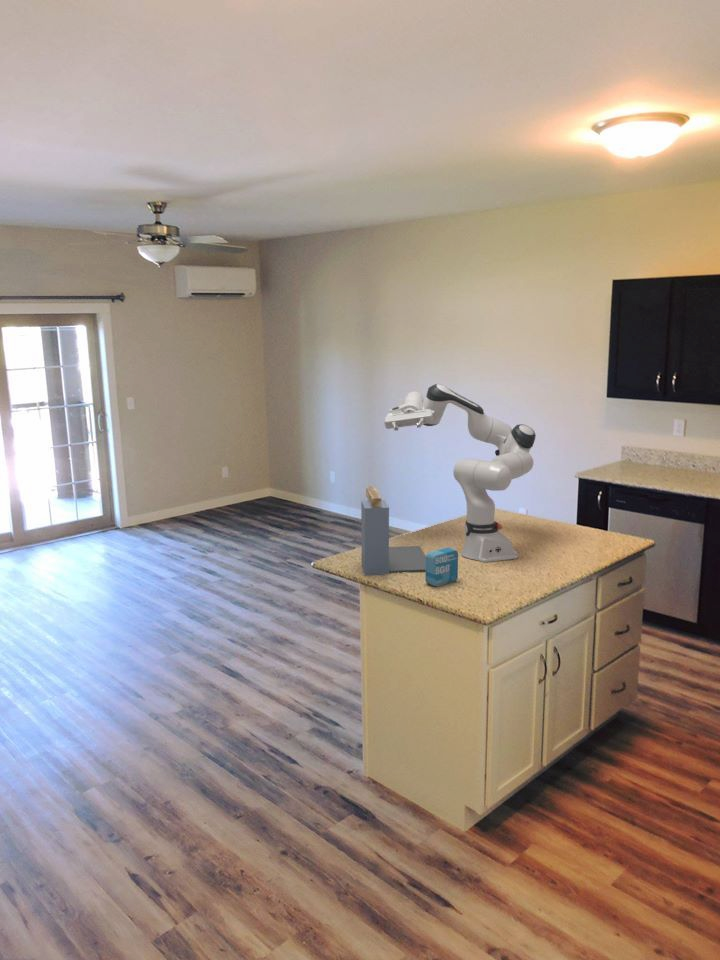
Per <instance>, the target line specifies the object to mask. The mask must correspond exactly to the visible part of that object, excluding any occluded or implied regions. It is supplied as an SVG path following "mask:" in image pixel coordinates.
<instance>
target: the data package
mask: <svg viewBox="0 0 720 960" xmlns="http://www.w3.org/2000/svg"><path fill="white" fill-rule="evenodd" d="M425 556H426V572H425V579H424V580H425V583H426V584H428V585H430V586H433V587H435V586H437V587H441V586H443V584H444V585H447V583H448V584H450V583H454V581H455V582H456V581H457V580H458V576H459V574H458V573H459V572H458V571H459V552H458V550H456V549H453V548H451V547H445V548H444V547H443V548H440V549H437V550H432V551H428V552H427V553H426V554H425Z"/></svg>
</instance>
